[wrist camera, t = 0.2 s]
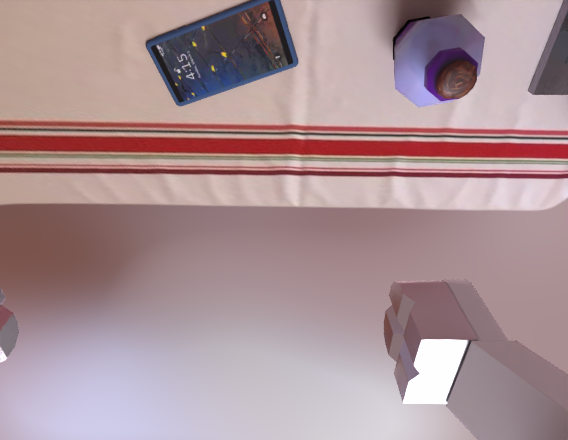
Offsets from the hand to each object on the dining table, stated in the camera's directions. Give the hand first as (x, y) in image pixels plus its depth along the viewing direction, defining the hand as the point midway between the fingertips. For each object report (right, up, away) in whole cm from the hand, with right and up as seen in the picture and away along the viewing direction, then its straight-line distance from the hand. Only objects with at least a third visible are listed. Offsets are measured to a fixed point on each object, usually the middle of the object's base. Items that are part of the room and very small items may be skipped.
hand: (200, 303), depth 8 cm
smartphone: (-5, +20, +35) cm, 40 cm away
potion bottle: (+16, +21, +34) cm, 43 cm away
